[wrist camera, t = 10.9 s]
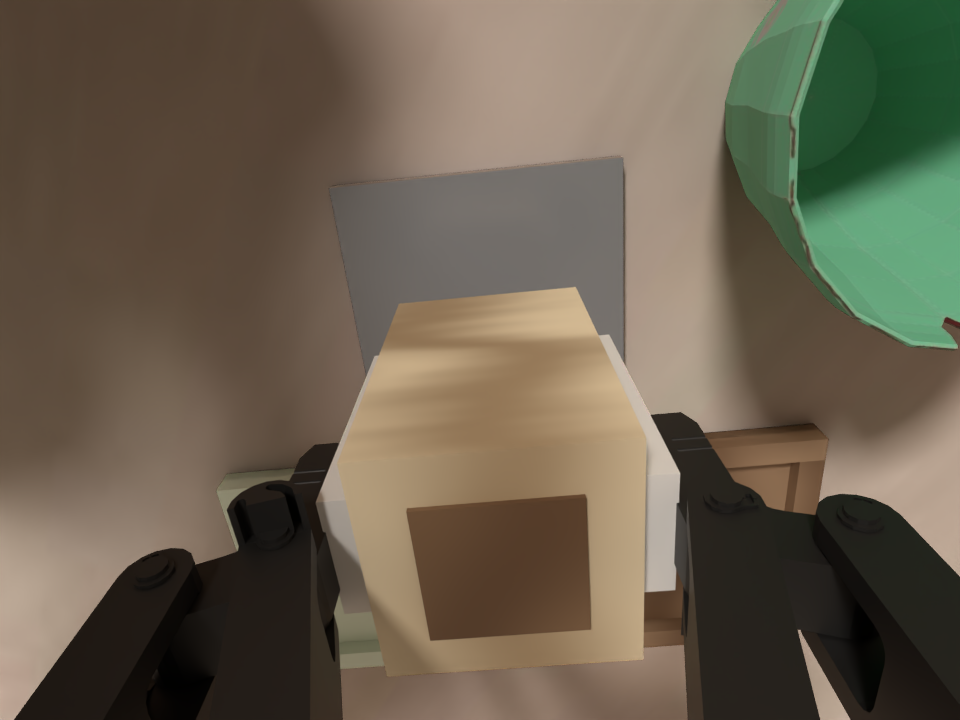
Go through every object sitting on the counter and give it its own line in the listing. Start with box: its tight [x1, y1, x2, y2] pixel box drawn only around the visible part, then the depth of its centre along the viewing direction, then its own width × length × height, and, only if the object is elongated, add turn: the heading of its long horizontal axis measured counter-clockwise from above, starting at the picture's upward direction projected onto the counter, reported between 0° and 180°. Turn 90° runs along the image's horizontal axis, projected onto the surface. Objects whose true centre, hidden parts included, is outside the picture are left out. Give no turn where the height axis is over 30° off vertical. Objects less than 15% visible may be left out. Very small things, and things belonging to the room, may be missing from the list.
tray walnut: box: [643, 424, 829, 648], centre depth 27 cm, size 11×11×1 cm
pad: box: [329, 156, 624, 376], centre depth 23 cm, size 10×10×1 cm
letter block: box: [337, 287, 646, 677], centre depth 14 cm, size 5×5×8 cm
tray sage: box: [216, 468, 384, 669], centre depth 28 cm, size 11×11×1 cm
